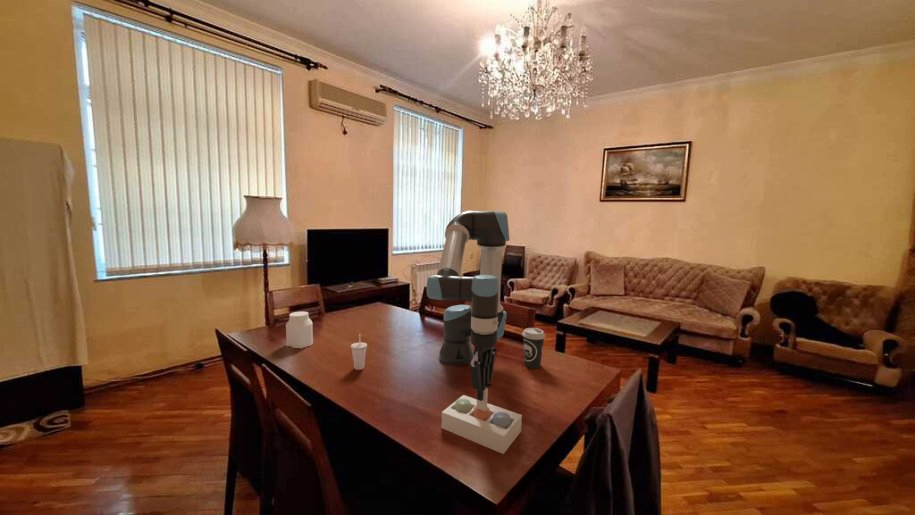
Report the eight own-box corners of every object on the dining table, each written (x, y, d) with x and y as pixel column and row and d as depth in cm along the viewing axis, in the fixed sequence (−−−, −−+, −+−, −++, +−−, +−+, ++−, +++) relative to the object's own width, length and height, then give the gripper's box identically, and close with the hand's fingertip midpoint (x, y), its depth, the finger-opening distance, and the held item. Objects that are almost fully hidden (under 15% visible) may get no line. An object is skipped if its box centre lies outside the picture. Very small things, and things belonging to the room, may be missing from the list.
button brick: (470, 429, 101) (470, 410, 100) (478, 422, 105) (478, 403, 104) (484, 435, 98) (485, 415, 98) (491, 427, 102) (492, 408, 102)
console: (441, 428, 102) (441, 412, 101) (463, 409, 112) (463, 394, 112) (503, 454, 91) (504, 436, 91) (521, 431, 101) (521, 415, 101)
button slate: (490, 437, 98) (490, 417, 97) (497, 429, 101) (498, 410, 101) (504, 443, 95) (505, 423, 94) (511, 435, 99) (512, 415, 98)
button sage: (452, 422, 104) (452, 403, 104) (460, 415, 108) (460, 397, 108) (465, 427, 102) (465, 408, 101) (473, 420, 106) (473, 401, 105)
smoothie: (370, 366, 143) (370, 333, 141) (360, 372, 137) (359, 338, 135) (358, 363, 146) (358, 331, 144) (347, 369, 140) (347, 335, 138)
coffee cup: (544, 371, 142) (546, 335, 140) (520, 368, 144) (522, 333, 142) (543, 361, 151) (545, 328, 149) (521, 359, 153) (522, 326, 151)
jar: (316, 343, 167) (315, 313, 165) (298, 350, 159) (297, 318, 157) (301, 339, 172) (300, 309, 171) (283, 345, 164) (281, 314, 162)
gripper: (484, 339, 91) (482, 424, 93) (506, 326, 102) (503, 403, 104) (460, 333, 95) (458, 415, 97) (483, 322, 106) (481, 395, 108)
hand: (481, 408), depth 101 cm, fingers closed
